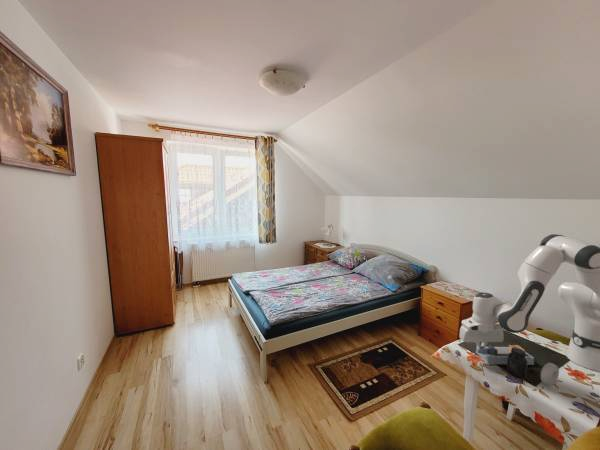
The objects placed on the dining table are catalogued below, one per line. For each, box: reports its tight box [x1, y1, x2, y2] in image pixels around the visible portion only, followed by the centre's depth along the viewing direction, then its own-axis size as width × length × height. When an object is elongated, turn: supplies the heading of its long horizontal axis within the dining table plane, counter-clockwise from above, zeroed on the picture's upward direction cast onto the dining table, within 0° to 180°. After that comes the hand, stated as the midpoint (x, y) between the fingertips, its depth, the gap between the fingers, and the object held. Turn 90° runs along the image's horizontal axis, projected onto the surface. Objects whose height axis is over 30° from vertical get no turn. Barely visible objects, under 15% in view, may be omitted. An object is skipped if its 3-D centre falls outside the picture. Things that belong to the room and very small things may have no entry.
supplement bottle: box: [506, 347, 528, 380], centre depth 110 cm, size 7×7×12 cm
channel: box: [475, 346, 535, 366], centre depth 122 cm, size 22×9×4 cm, turn 87°
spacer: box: [508, 344, 526, 352], centre depth 121 cm, size 4×4×5 cm
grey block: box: [487, 344, 511, 356], centre depth 122 cm, size 10×4×5 cm, turn 87°
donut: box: [540, 362, 560, 387], centre depth 104 cm, size 10×3×10 cm, turn 114°
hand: (480, 348), depth 123 cm, fingers closed
